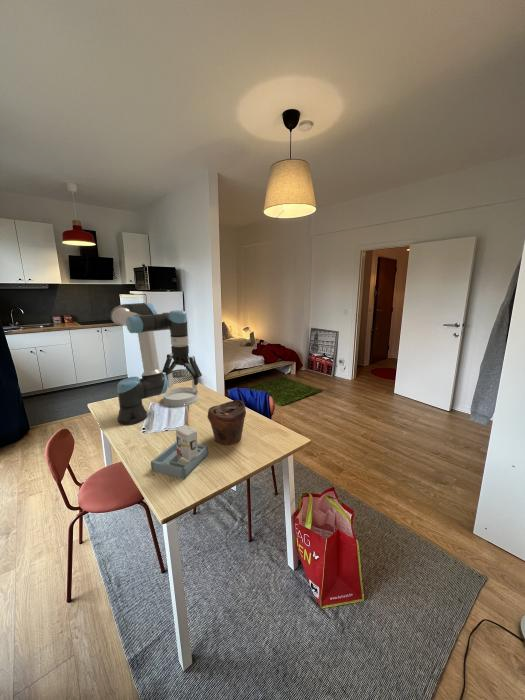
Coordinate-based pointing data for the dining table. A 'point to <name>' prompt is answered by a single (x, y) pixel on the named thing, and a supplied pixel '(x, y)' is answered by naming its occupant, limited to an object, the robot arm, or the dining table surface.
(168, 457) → the walled box
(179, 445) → the ink box
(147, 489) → the dining table surface
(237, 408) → the brown pot
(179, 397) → the dish
